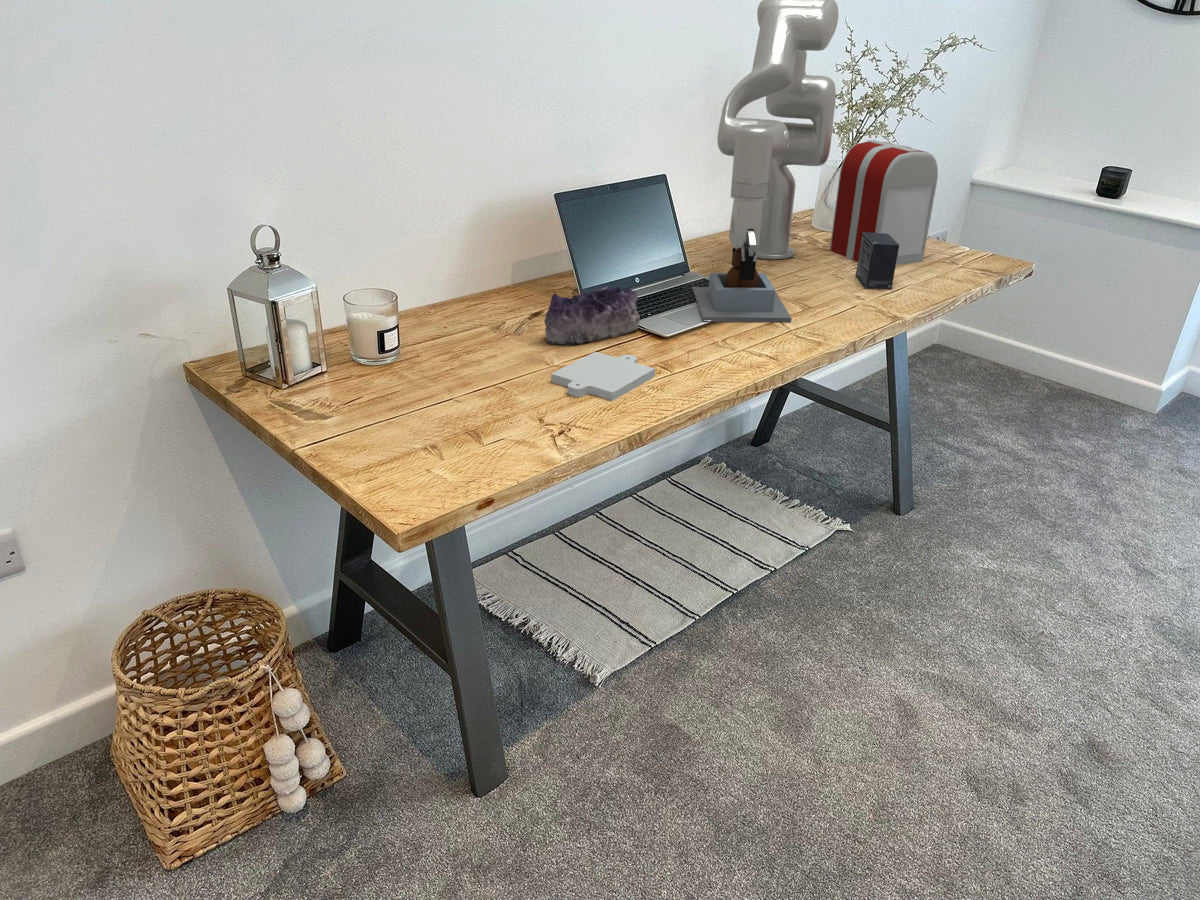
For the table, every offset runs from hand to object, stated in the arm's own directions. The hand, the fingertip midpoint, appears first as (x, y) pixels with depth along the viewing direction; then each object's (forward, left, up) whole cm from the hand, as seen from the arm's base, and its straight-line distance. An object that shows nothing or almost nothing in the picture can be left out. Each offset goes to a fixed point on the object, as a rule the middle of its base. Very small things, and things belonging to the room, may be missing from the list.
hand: (742, 272), depth 194 cm
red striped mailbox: (-41, +41, -7) cm, 58 cm away
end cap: (0, 0, -7) cm, 7 cm away
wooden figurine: (0, 0, -6) cm, 7 cm away
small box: (-18, +34, -8) cm, 39 cm away
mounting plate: (+40, -30, -8) cm, 51 cm away
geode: (+18, -32, -8) cm, 37 cm away
